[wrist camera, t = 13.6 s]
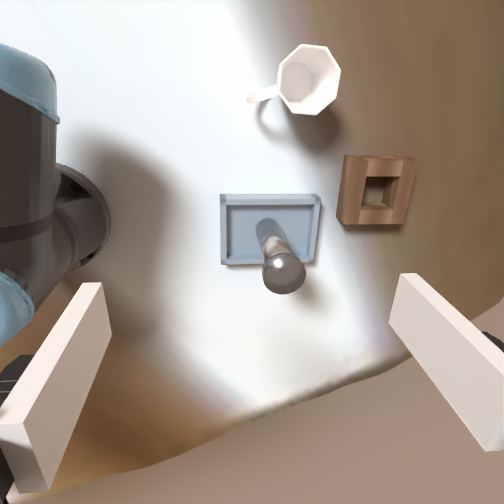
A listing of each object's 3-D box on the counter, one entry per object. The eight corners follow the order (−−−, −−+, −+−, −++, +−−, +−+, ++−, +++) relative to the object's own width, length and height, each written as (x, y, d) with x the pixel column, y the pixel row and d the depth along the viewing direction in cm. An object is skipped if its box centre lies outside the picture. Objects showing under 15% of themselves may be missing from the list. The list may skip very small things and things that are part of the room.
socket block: (335, 216, 52) (343, 224, 49) (344, 155, 48) (353, 160, 45) (392, 215, 53) (403, 223, 50) (405, 156, 49) (418, 160, 46)
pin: (249, 216, 49) (261, 260, 37) (282, 212, 50) (304, 253, 37) (253, 246, 52) (265, 297, 39) (284, 241, 52) (306, 291, 39)
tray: (220, 257, 53) (221, 264, 50) (219, 194, 48) (220, 199, 46) (309, 255, 54) (313, 262, 52) (315, 193, 50) (320, 198, 48)
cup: (325, 101, 44) (347, 104, 37) (252, 127, 45) (260, 134, 38) (313, 41, 41) (334, 32, 34) (235, 69, 42) (240, 65, 35)
